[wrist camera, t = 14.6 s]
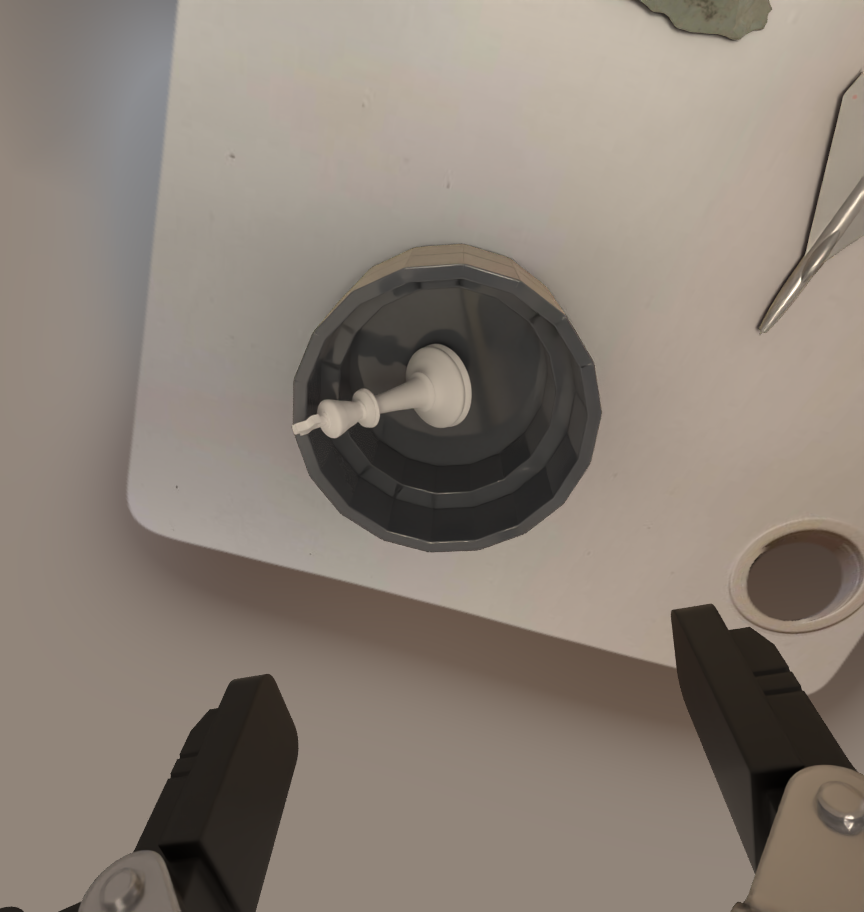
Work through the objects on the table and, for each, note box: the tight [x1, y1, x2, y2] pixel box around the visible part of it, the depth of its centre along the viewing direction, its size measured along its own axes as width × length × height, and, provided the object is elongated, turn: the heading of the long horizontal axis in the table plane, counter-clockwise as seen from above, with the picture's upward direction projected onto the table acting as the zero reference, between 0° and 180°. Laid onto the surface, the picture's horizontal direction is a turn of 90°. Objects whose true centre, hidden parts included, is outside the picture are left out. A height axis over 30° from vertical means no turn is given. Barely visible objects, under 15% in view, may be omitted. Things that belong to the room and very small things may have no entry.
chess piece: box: [292, 344, 472, 438], centre depth 35 cm, size 5×5×10 cm
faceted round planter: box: [293, 244, 602, 552], centre depth 36 cm, size 15×16×8 cm
